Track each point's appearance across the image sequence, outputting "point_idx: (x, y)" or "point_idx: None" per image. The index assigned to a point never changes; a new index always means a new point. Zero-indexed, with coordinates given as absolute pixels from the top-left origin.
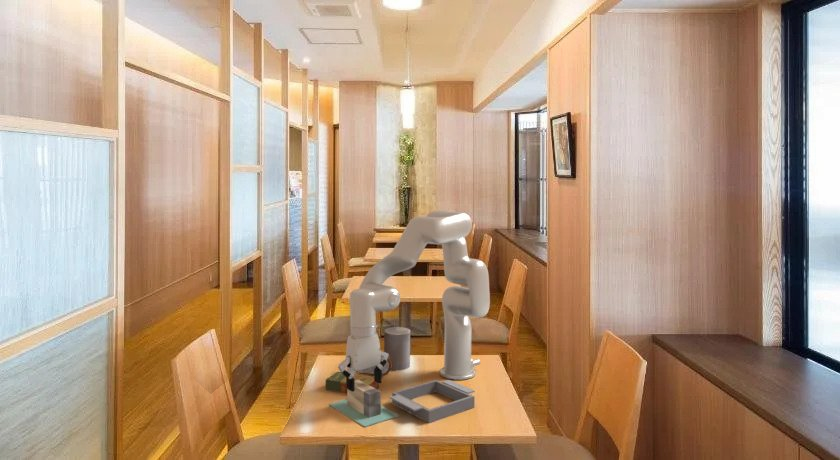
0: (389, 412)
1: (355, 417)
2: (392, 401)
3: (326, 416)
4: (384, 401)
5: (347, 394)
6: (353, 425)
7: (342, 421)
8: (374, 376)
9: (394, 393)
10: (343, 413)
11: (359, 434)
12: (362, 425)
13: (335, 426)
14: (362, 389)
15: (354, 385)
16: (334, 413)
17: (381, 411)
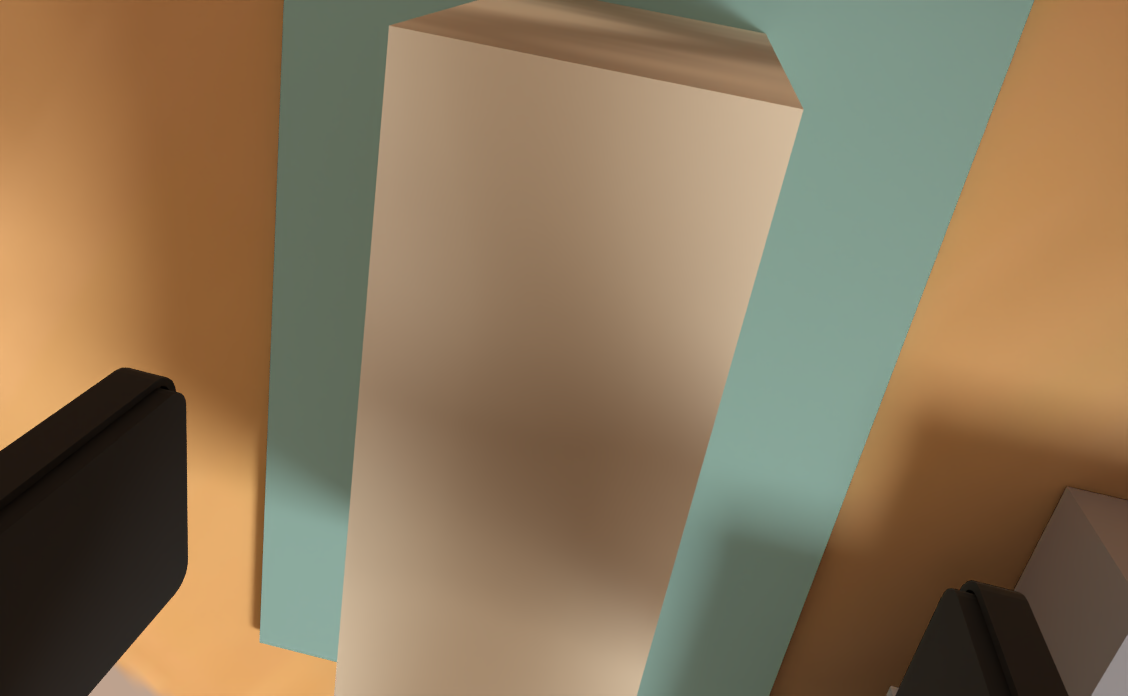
0: (738, 647)
1: (318, 423)
2: (1073, 518)
3: (45, 49)
4: (1082, 346)
5: (478, 2)
6: (197, 515)
7: (149, 347)
8: (974, 690)
9: (1122, 659)
10: (280, 190)
11: (134, 677)
12: (263, 600)
13: (13, 378)
14: (385, 625)
15: (105, 672)
16: (193, 58)
17: (696, 558)
